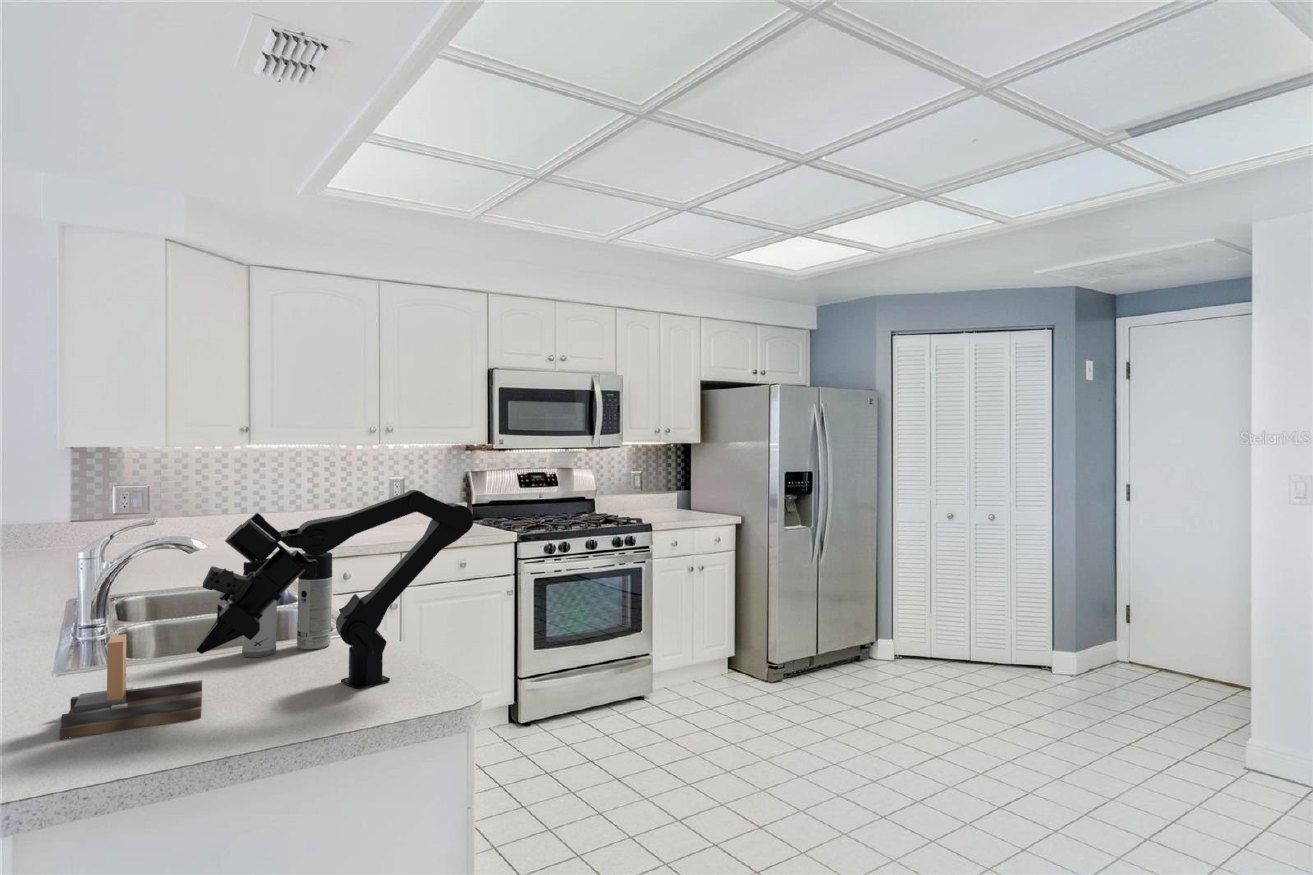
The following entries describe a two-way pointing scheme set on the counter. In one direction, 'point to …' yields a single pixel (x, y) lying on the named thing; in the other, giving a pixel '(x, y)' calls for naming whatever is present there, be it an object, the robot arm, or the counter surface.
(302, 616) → the spray can
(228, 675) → the counter surface
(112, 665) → the fader tab
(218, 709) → the counter surface
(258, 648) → the travel mug
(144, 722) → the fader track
